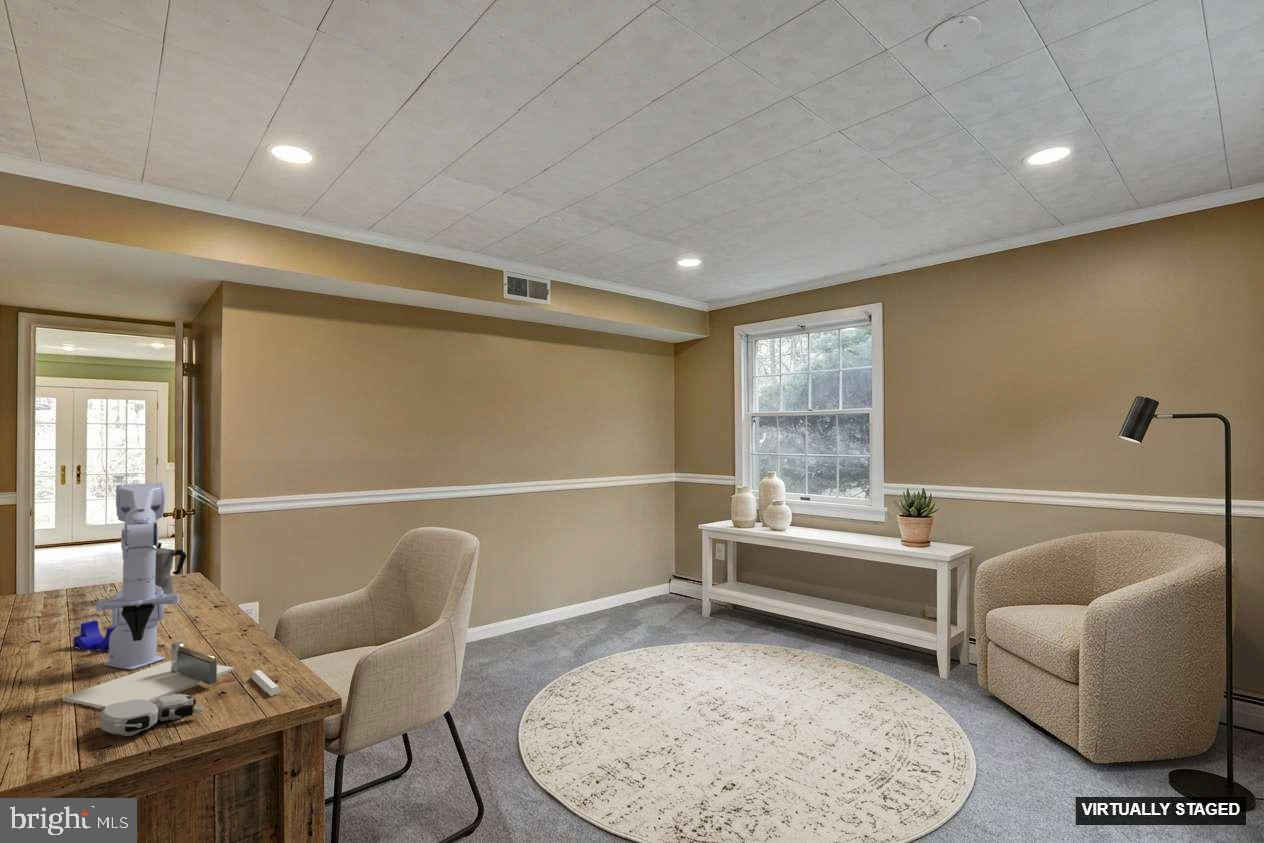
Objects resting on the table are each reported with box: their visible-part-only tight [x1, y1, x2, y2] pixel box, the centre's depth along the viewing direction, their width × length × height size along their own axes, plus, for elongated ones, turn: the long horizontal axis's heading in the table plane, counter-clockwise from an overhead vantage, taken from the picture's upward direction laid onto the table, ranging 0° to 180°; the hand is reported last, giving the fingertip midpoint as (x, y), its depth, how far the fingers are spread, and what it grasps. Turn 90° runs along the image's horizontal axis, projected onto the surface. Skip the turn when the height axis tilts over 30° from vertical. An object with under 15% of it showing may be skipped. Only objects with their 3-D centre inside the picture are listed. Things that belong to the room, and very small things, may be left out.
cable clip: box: [73, 620, 119, 652], centre depth 162 cm, size 12×4×6 cm, turn 69°
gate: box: [177, 645, 218, 685], centre depth 141 cm, size 2×14×6 cm, turn 60°
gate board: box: [61, 660, 235, 708], centre depth 139 cm, size 18×24×1 cm
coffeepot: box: [155, 542, 187, 594], centre depth 213 cm, size 15×9×18 cm, turn 95°
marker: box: [250, 669, 282, 697], centre depth 140 cm, size 3×2×16 cm
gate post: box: [170, 641, 185, 673], centre depth 145 cm, size 2×2×7 cm
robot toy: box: [94, 693, 204, 737], centre depth 121 cm, size 12×4×15 cm
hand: (138, 639), depth 141 cm, fingers closed
